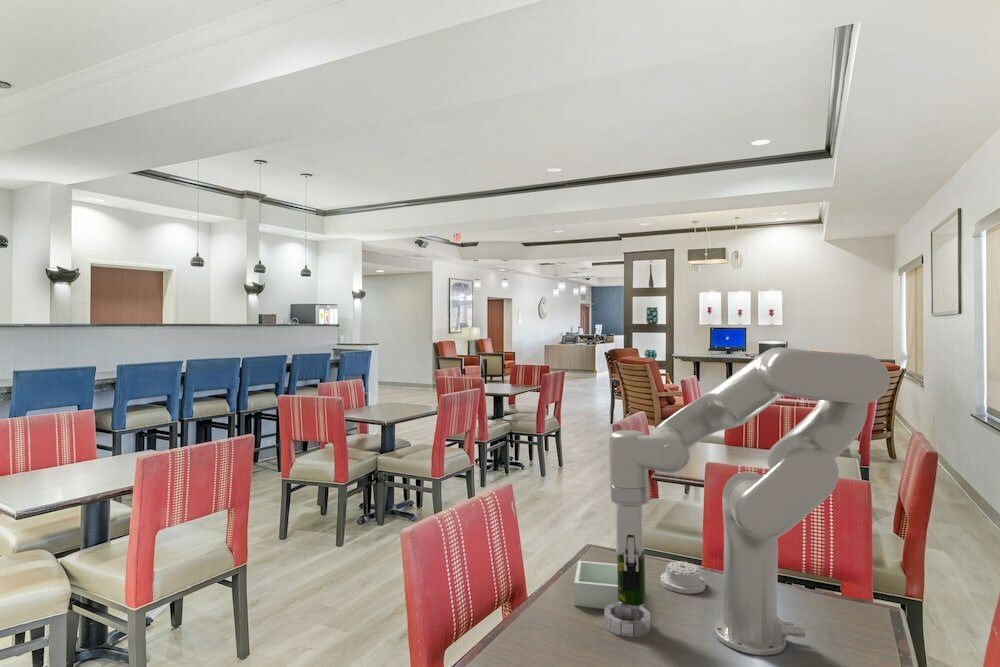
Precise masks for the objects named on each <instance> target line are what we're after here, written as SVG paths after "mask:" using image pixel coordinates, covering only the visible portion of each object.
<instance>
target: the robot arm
mask: <svg viewBox="0 0 1000 667" xmlns="http://www.w3.org/2000/svg"><path fill="white" fill-rule="evenodd" d="M890 384H891V377H890V373H889V370H888V368H887V367H886V366H885V364H884V363H883V362H882V361H881V360H880V359H878V358H876V357H874V356H871V355H869V354H861V353H853V352H852V353H851V352H827V351H826V352H825V351H813V350H805V349H797V348H790V347H773V348H769V349H768V350H765V351H764V352H762V353H761V354H759V355H758V356H756V357H755V358H754V359H752V360H751V361H750V362H748V363H747V364H746V365H744V366H743V367H742V368H740V369H739V370H737V371H736V372H735V373H733V374H732V375H730V376H729V377H728V378H726V379H725V380H723V382H720V383H719V384H718V385H717V386H715V387H714V388H713V389H711V390H709V391H708V392H705V393H704V394H703V395H701V396H700V397H698V398H697V399H695V400H694V401H692V402H690V403H688V404H687V405H686V406H684V407H682V408H680V409H679V410H678V411H676V412H675V413H674V414H672V415H671V416H670V417H669V416H668V418H666V419H665V420H663V421H662V422H661V423H660V424H659V425H657V426H656V427H655V428H653V430H652V431H651V432H650V434H649V435H646V434H645V433H644V432H642V431H639V430H636V429H635V430H632V429H620V430H616V431H612V433H611V434H610V435H609V440H608V441H609V442H608V443H609V447H608V448H609V482H610V483H609V487H610V488H609V489H610V490H609V491H610V492H609V493H610V501H611V502H612V503H614V504H615V510H614V511H615V512H614V514H615V521H614V522H615V551H616V552H615V553H616V556H617V555H618V556H620V554H621V555H623V553H624V569H623V590H624V591H634V592H639V591H640V570H638V555H639V556H641V555H642V543H643V541H644V540H643V537H644V534H643V533H644V505H647V504H649V503H650V492H649V487H650V486H649V470H650V471H656V472H661V473H667V474H668V473H670V474H671V473H672V474H673V473H676V472H680V471H682V470H683V469H684V468H685V467H686V466H687V465H688V463H689V461H690V459H691V458H690V457H691V454H690V453H691V452H690V449H691V448H692V447H694V446H695V445H696V444H698V443H699V442H701V441H702V440H703V439H705V438H707V437H708V436H710V435H713V434H714V433H717V432H720V431H724V430H729V429H735V428H737V427H740V426H742V425H744V424H746V423H747V422H749V421H750V420H752V419H753V418H755V417H756V416H757V415H758V414H759V413H761V412H762V411H764V410H765V409H767V408H768V407H770V406H771V405H772V404H774V403H775V402H777V401H779V399H781V398H782V397H783V396H786V397H792V398H799V399H808V400H816V401H817V403H816V405H815V406H814V407H813V409H812V410H811V411H810V412H809V413H808V414H807V415H806V416H805V417H804V418H803V419H802V420H801V421H800V422H798V423H797V425H795V426H794V427H793V428H792V429H790V431H789V432H787V433H786V434H785V435H784V436H782V438H780V439H778V441H776V442H775V444H773V445H772V447H770V449H769V451H768V454H767V457H766V458H767V461H766V462H767V463H766V464H767V466H768V468H769V471H767V472H766V473H764V474H763V475H761V474H759V473H757V472H752V471H741V472H738V473H735V474H733V475H732V476H731V477H730V478H729V479H728V480H727V482H725V485H724V487H723V490H722V497H721V498H722V500H721V502H722V504H721V505H722V518H723V520H722V521H723V544H724V545H723V590H722V591H723V594H722V595H723V596H722V597H723V598H722V599H723V600H722V601H723V605H722V607H723V608H722V609H723V610H722V611H723V612H722V618H720V619H718V620H717V621H716V622H715V624H714V634H715V636H716V638H717V639H718V640H719V641H720V642H721V643H723V644H724V645H725V646H727V647H729V648H731V649H734V650H736V651H738V652H742V653H744V654H749V655H756V656H773V655H776V654H780V653H781V652H783V651H784V650H785V649H786V646H787V637H788V636H789V637H790V636H791V637H796V638H802V639H803V638H806V630H805V627H804V626H803V625H802V626H801V625H795V624H794V621H793V620H788V619H781V618H779V617H778V576H779V575H778V573H779V572H778V571H779V570H778V569H779V568H778V567H779V565H778V562H779V545H778V544H779V542H778V540H779V539H778V538H780V537H782V536H783V535H785V534H786V533H788V532H789V531H791V530H792V529H793V528H794V527H795V526H797V525H798V524H799V523H800V522H802V520H804V519H805V518H806V517H807V516H808V515H810V514H811V513H812V512H813V511H814V510H815V509H816V508H817V507H819V506H820V505H821V504H822V503H823V502H824V501H825V500H827V499H828V497H829V496H831V494H832V493H833V492H834V490H835V489H836V487H837V484H838V481H839V478H840V477H839V476H840V473H839V472H840V470H839V465H838V463H837V460H836V459H837V458H838V457H839V456H840V455H841V454H842V453H843V452H844V451H845V450H846V449H848V448H849V446H850V445H852V443H853V442H854V441H855V440H856V439H857V438H858V437H859V435H860V434H861V432H862V431H863V429H864V427H865V424H866V420H867V417H868V405H869V403H873V402H876V401H877V400H879V399H880V398H881V397H883V396H884V395H885V394H886V393H887V392H888V389H889V388H890ZM627 539H628V543H627ZM626 551H628V554H626ZM634 551H636V554H634ZM627 557H628V560H627ZM634 558H635V560H634Z"/></svg>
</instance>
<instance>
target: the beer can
mask: <svg viewBox="0 0 1000 667" xmlns="http://www.w3.org/2000/svg"><path fill="white" fill-rule="evenodd" d="M627 543H628V539H627ZM626 554H628V551H626ZM634 554H636V551H634ZM616 560H617V561H616V562H617V563H616V564H617V572H618V600H619V603H620V604H621V605H622V606H623V607H626V608H630V609H638V608H641V607H644V606H645V604H646V565H645V564H646V562H645V561H646V560H645V547H644V543H643V542H642V555H641V556H639V555H638V570H640V591H639V592H634V591H624V590H623V569H624V553H623V555H621V554H620V556H618V555H617V554H616ZM627 560H628V557H627ZM634 560H635V558H634Z"/></svg>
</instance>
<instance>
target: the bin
mask: <svg viewBox="0 0 1000 667" xmlns="http://www.w3.org/2000/svg"><path fill="white" fill-rule="evenodd" d="M574 576H575V577H574V583H573V584H574V588H573V606H575V607H584V608H593V609H601V610H602V609H604V608H605V607H606V606H608V605H609V604H611V603H617V602H619V600H618V572H617V563H609V562H599V561H584V560H577V565H576V570H575V575H574Z"/></svg>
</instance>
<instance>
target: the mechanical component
mask: <svg viewBox="0 0 1000 667" xmlns="http://www.w3.org/2000/svg"><path fill="white" fill-rule="evenodd" d="M665 567H666V568H665V571H664V572H663V573H662V574H661V575H660V584H661V585H662V586H663V587H664V588H665V587H666V588H665V589H667V590H669V591H671V592H674V593H679V594H687V595H690V594H692V595H694V594H699V593H702V592H704V590H706V581H705V579H704V578H703V577H702V576H701V570H700V567H699V566H696V565H695V564H694V563H689V562H687V561H682V560H680V561H679V560H676V561H673V562H672V561H669V563H666V566H665Z"/></svg>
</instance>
